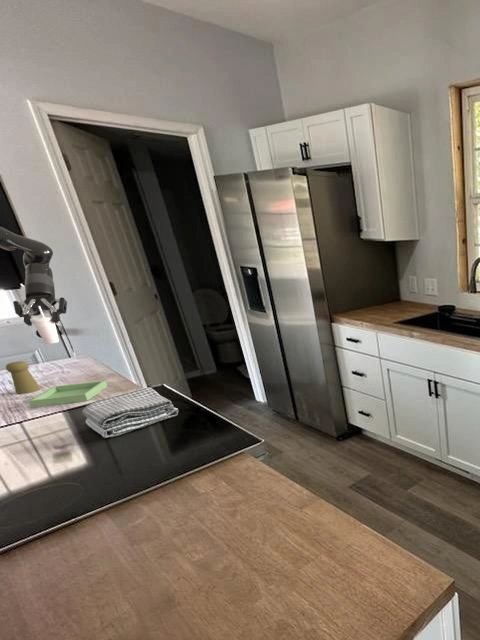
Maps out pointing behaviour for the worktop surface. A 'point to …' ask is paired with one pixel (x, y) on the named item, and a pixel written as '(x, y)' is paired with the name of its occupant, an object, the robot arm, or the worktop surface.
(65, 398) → the tray
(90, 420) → the towel
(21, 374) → the cork
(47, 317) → the smoothie
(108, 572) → the worktop surface
